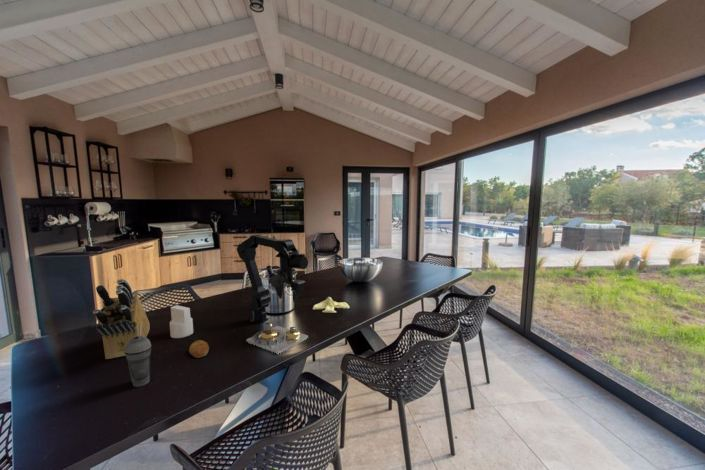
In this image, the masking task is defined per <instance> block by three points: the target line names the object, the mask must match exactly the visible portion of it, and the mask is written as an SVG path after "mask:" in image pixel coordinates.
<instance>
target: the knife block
mask: <svg viewBox="0 0 705 470" xmlns="http://www.w3.org/2000/svg"><path fill="white" fill-rule="evenodd" d="M116 284H118V285H116V287H115V289H116V290H115V294H116V296H117V297H110V293H109V292H108V290H107V289H106V287H105V286H104V285H97V286H96V287H95V290H96V293H97V295H98V296H99V297H100V299H101V300H102V308H101V309H98V308H97V309H94V310H93V311H92V313H93V315H95V316H96V317H95V318H96V320H97V321H98V322H99V324H96V325H94V326H93V329H94V330H95V331H97V333H98V334H100V336H101V337H102V343H103V350H104V357H105V360H111V359H114V358H119V357H121V358H122V357H126V355H125V347H126V345H127V343H128V342H129V341H130V340H131V339H132V338H134V337H137V336H139V324H141V335H140V336H143V337H146V338H147V337H148V334H149V332H150V325H151V324H150V321H149V318H148V317H147V314H146V311H145V309H144V306H143V304H142V302H141V299H140V297H139V295H138V294H133V291H132V287H131V285H130V284H129V282H128V281H127V280H125V279H123V278H120V279H117V280H116Z"/></svg>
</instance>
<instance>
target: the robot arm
mask: <svg viewBox="0 0 705 470" xmlns="http://www.w3.org/2000/svg"><path fill="white" fill-rule="evenodd" d="M259 245H260V246H264V247H268V248H272V249H273V250H274V251H275V252H277V254H276V255H275V258H279V269H277V274H274V275H273V276H271V277H269V279H268V284H269V285H270V286H271V287H273V288H274V289H275V291H276V294H277V296H278V298H279V300H280V299H282V298H283V292H284V285H289V286H290V291H291V292H292V302H293V303H296V302H297V300H298V298H299V296H300V293H301V291H302V290H303V289H304V288H306V285H307V283H306V281H305V280H302V279H296V277H294V272H295V271H296V269H297V270H306V269H307V267H308V266H309V265H308V264H309V260H308V258H307V256H306V254H305V253H300V251H299V250H298V248H297V247H296V245H295V242H294V240H293V239H291V238H290V239H289V238H286V239H285V238H283V239H282V238H281V239H276V238H272V237H269V236H264V235H260V234H253V235H252V234H251V235H250V236H249V237H248V238H247V239H245V240H243V241H242V242H241V243H239V244H238V245H237V247H236V252H237V254H238V257H239V258H240V260H242V261H243V262H244V264H245V268H246V271H247V275H248V278H249V281H250V286H251V288H252V291H251V292H252V293H251V302H250V303H249V304H248V305H247V308H248V311H250V312H252V319H250V320H249V321H250V322H252V323H254V324H257V325H258V324H261V323H264V322H267V321H269V318H268V317H267V311H266V308H268V307H269V306H270V303H271V300H272V299H271V297H272V296H271V293H270V290H269V289H268V288H267V289H266V288H265V287H264V285H263V282H262V278H261V275H260V272H259V269H258V265H257V262H256V256H257V250H256V249H257V248H258V247H259Z"/></svg>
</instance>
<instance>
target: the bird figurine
mask: <svg viewBox="0 0 705 470" xmlns="http://www.w3.org/2000/svg"><path fill="white" fill-rule="evenodd" d="M335 308H337V309H350V305H349V304H348V303H347V302H345V301H343V302H341V301H340V302H337V301H334V300H333V298H332V297H330V296H328V297H326V299H325V300H323V301H320V302H319V303H315V304H314V305H313V307H312V310H322V313H333V314H334V313H337V311H336V310H335Z"/></svg>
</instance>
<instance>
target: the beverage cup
mask: <svg viewBox="0 0 705 470" xmlns="http://www.w3.org/2000/svg"><path fill="white" fill-rule="evenodd" d="M140 335H141V324H139V336H137V337H134V338H132V339H131V340H130V341H129V342H128V343H127V345H126V347H125V355H126V356H125V358H126V360H127V363H128V370H129V375H130V379H131V382H132V386H133V387H136V388H139V387H142V386H143V387H144V386H145V385H147V384H148V383H150V378H151V377H150V376H151V353H152V348H153V347H152V343H151V341H150V339H149V338H147V337H143V336H140Z"/></svg>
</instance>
